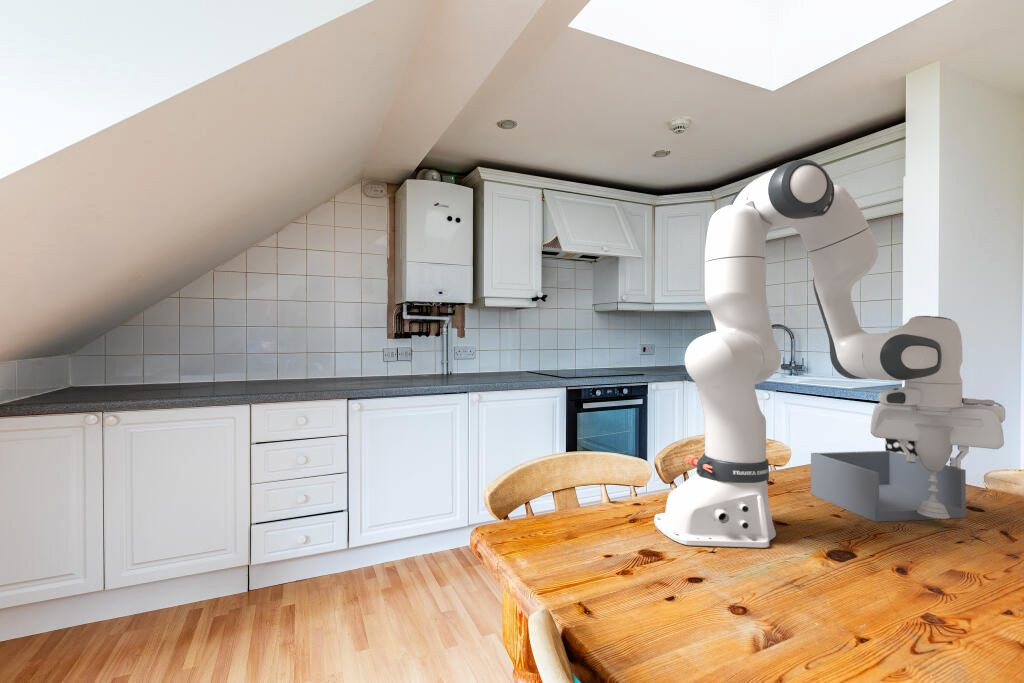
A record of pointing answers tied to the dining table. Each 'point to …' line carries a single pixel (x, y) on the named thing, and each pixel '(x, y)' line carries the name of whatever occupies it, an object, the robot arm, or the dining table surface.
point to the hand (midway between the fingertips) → (932, 464)
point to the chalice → (933, 464)
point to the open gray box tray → (884, 485)
